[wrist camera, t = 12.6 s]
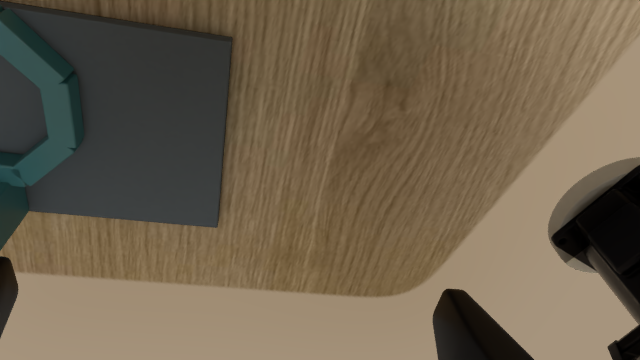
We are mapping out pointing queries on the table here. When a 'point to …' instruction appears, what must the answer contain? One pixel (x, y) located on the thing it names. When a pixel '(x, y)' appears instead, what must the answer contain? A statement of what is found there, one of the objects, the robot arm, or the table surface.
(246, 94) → the table surface
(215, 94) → the mat
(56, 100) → the ring teal
